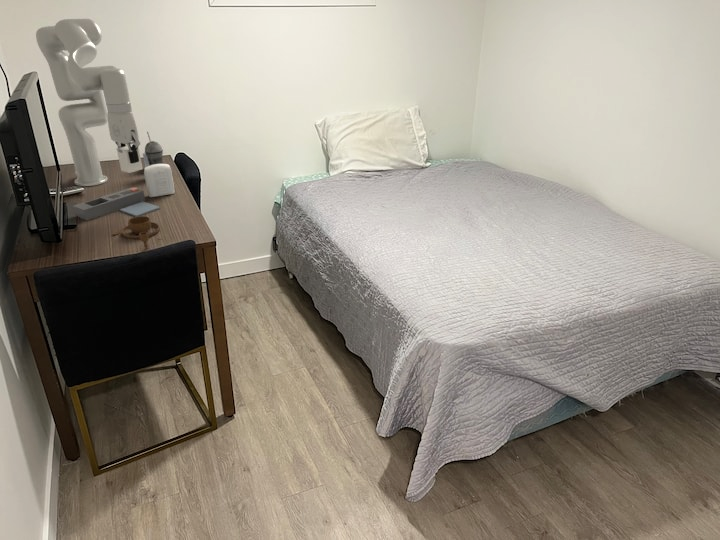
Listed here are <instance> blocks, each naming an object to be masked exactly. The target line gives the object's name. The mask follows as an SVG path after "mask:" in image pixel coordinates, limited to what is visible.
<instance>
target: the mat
mask: <svg viewBox="0 0 720 540" xmlns="http://www.w3.org/2000/svg"><path fill="white" fill-rule="evenodd" d="M157 209H158V210H161V206H158V205H156V204H155V205H154V204H152V203H148V202H145V201H143V202H140V203H137V204H134V205H131V206H128V207H125V208H122V209H120V210H119V212H122V213H125V214H126V215H129V216H133V217H139V216H144V215H146V213H147V214H149V213H151V212H152V213H153V212H155V211H158V210H157ZM154 210H155V211H154ZM143 214H144V215H143Z"/></svg>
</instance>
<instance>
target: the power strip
mask: <svg viewBox="0 0 720 540" xmlns="http://www.w3.org/2000/svg"><path fill="white" fill-rule="evenodd" d="M142 201H143V202H145V201H146V196H145V192H144V190H142V189H139V188H138V187H133V186H132V187H129V188H125V189H122V190H119V191H116V192H113V193H110V194H106V195H103V196H100V197H97V198H93V199H90V200H87V201H84V202H80V203H77V204H73V205H72V206H73V212H74V215H75V214H76V215H77V216H78V217H77V216H76V215H75V216H76V217H77V218H79V217H80V218H79V219H82V220H84V219H85V221H90V220H94V219H96V218H98V217H102V216H105V215H107V214H110V213H114V212H116V211H120V209H123V208H126V207H129V206H131V205H134V204H137V203H140V202H142Z"/></svg>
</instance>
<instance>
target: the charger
mask: <svg viewBox="0 0 720 540" xmlns="http://www.w3.org/2000/svg"><path fill="white" fill-rule="evenodd" d="M130 145H131V147H132V145H133V144H130ZM128 152H129V149H128V146H125V147H121V148H118V147H117V148H116V153H117V157H118V162H119V167H120V170H121V172H123V173H128V174H131V173H135V172H138V171H141V170H144V168H143V164H142V159H141V153H140V148H139V147H138V151H137V152H138V157H139V162H136V163H130V159H129V154H128Z"/></svg>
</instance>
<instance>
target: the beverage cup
mask: <svg viewBox="0 0 720 540" xmlns="http://www.w3.org/2000/svg"><path fill="white" fill-rule="evenodd" d="M146 134H147V137H148V142H147V143H146V145H145V148H144V152H145V153H146V156H147V158H148V162H149V166H150V165H154V164H164V160H163V159H164V157H163V154H164V149H163V148H162V147H163V146H162V145H161V144H160V143H158V142H157V141H153V140H151V137H150V133H149V131H146Z"/></svg>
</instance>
